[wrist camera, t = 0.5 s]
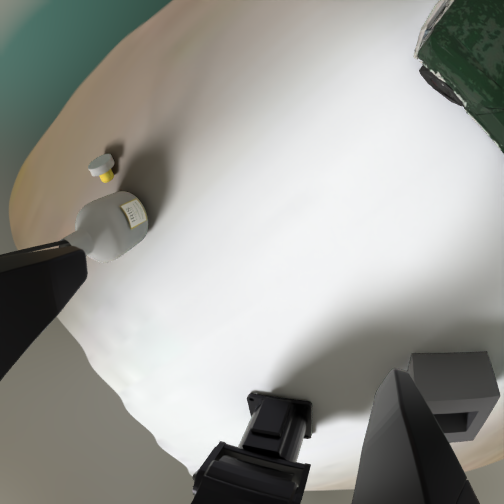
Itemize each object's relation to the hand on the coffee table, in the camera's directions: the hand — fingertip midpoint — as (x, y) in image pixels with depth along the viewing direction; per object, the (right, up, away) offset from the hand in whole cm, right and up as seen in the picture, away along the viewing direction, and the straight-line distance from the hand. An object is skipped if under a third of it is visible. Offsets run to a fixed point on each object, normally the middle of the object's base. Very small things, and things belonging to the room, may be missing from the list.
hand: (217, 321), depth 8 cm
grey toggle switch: (+17, -9, +14) cm, 24 cm away
